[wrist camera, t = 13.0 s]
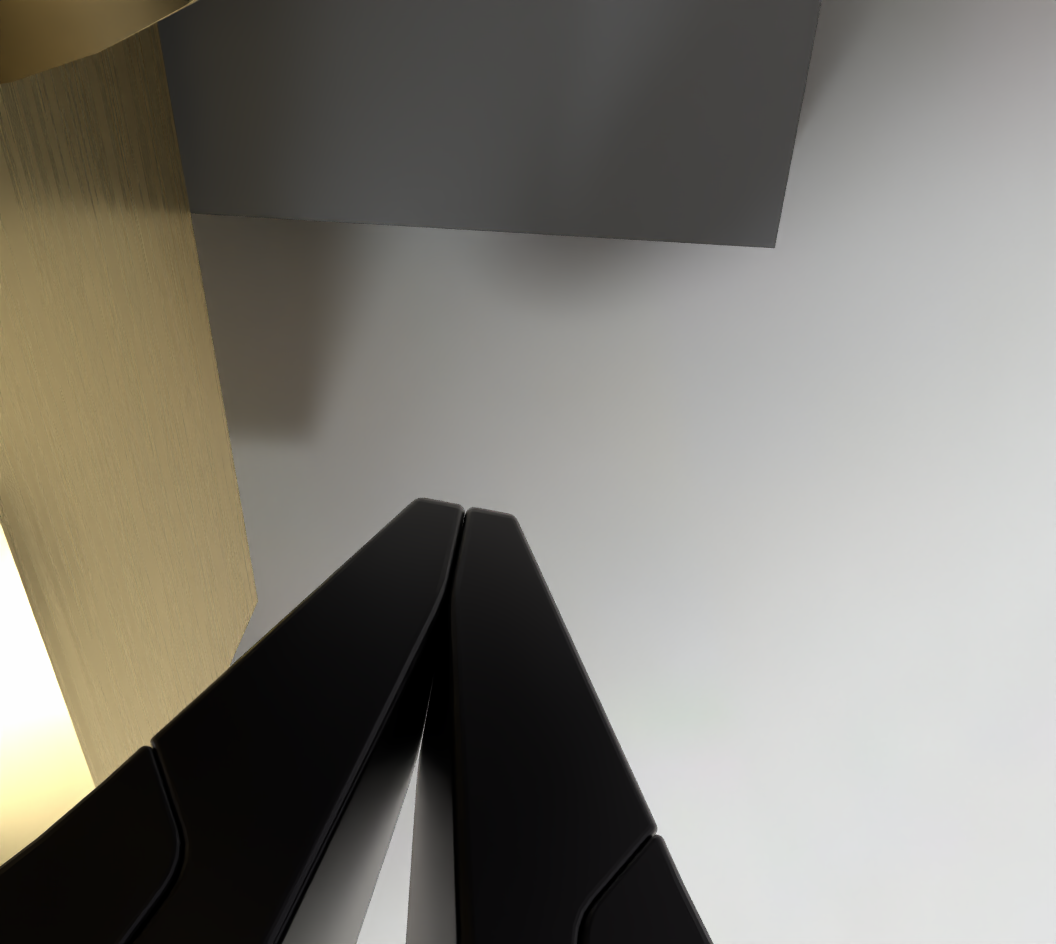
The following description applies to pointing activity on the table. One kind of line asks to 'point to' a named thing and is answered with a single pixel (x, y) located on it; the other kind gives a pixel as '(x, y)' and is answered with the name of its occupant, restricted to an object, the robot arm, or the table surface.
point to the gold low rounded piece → (102, 413)
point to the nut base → (494, 113)
